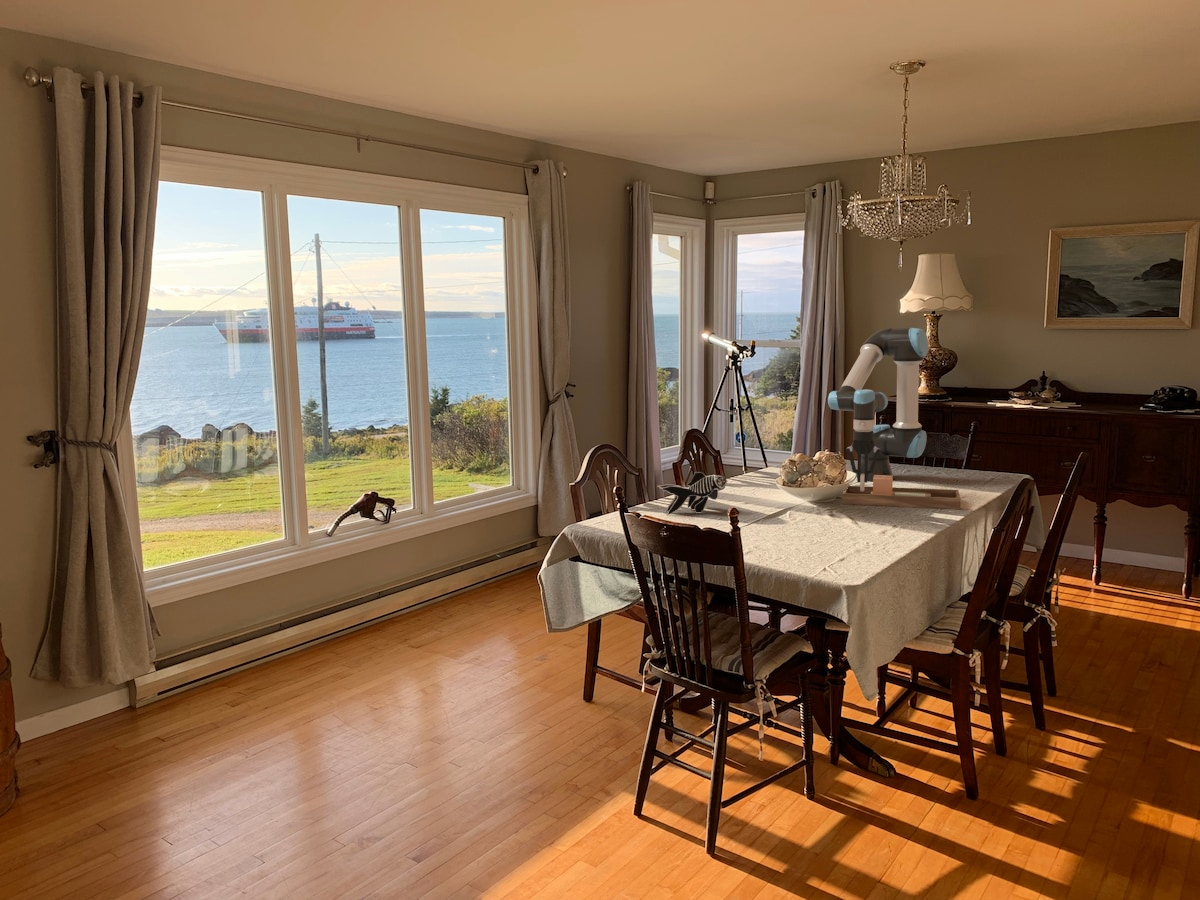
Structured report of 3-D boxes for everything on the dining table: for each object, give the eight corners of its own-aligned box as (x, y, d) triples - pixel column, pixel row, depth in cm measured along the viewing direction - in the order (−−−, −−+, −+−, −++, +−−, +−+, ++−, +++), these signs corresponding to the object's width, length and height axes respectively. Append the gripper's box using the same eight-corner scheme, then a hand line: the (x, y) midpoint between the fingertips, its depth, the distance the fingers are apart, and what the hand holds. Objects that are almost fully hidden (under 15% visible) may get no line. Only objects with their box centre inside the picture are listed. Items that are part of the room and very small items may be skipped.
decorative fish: (739, 505, 332) (731, 467, 329) (671, 525, 327) (663, 486, 324) (724, 497, 347) (716, 460, 344) (660, 516, 342) (651, 478, 339)
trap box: (844, 495, 359) (845, 485, 358) (958, 500, 345) (958, 489, 344) (842, 504, 344) (842, 493, 343) (960, 509, 330) (960, 498, 330)
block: (873, 492, 350) (873, 475, 349) (892, 493, 348) (892, 475, 347) (872, 496, 344) (873, 478, 343) (892, 497, 342) (892, 479, 340)
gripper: (845, 431, 343) (844, 491, 347) (881, 432, 339) (879, 493, 343) (846, 428, 350) (845, 487, 354) (881, 429, 346) (880, 489, 350)
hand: (862, 490), depth 348 cm, fingers closed
